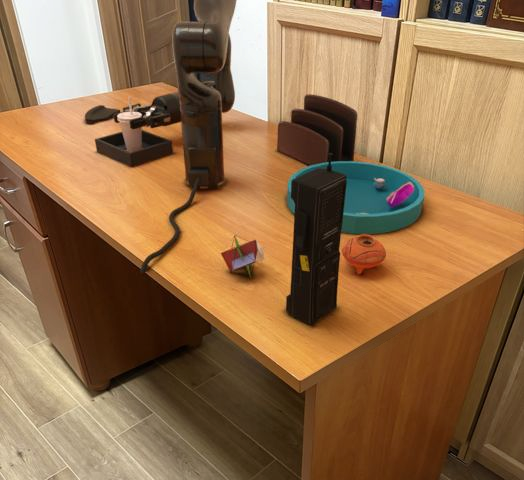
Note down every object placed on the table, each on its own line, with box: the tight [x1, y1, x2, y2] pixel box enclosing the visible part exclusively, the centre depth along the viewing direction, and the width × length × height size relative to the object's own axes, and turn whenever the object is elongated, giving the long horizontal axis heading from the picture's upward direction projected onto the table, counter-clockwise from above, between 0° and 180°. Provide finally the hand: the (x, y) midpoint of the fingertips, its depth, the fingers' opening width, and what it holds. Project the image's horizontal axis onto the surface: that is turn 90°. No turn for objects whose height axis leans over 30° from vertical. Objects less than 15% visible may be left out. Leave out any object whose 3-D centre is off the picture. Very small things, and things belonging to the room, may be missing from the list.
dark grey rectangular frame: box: [94, 129, 174, 168], centre depth 142 cm, size 16×14×3 cm
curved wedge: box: [84, 104, 121, 125], centre depth 166 cm, size 8×14×2 cm, turn 158°
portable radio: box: [285, 153, 347, 326], centre depth 79 cm, size 8×6×25 cm
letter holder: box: [276, 93, 358, 166], centre depth 137 cm, size 10×20×14 cm, turn 37°
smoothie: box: [117, 96, 143, 152], centre depth 139 cm, size 6×6×14 cm
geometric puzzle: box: [220, 234, 265, 278], centre depth 95 cm, size 7×7×8 cm
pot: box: [341, 234, 387, 275], centre depth 97 cm, size 8×8×7 cm
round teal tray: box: [286, 160, 425, 235], centre depth 118 cm, size 30×30×6 cm
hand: (122, 121), depth 136 cm, fingers closed on smoothie, 6 cm apart
